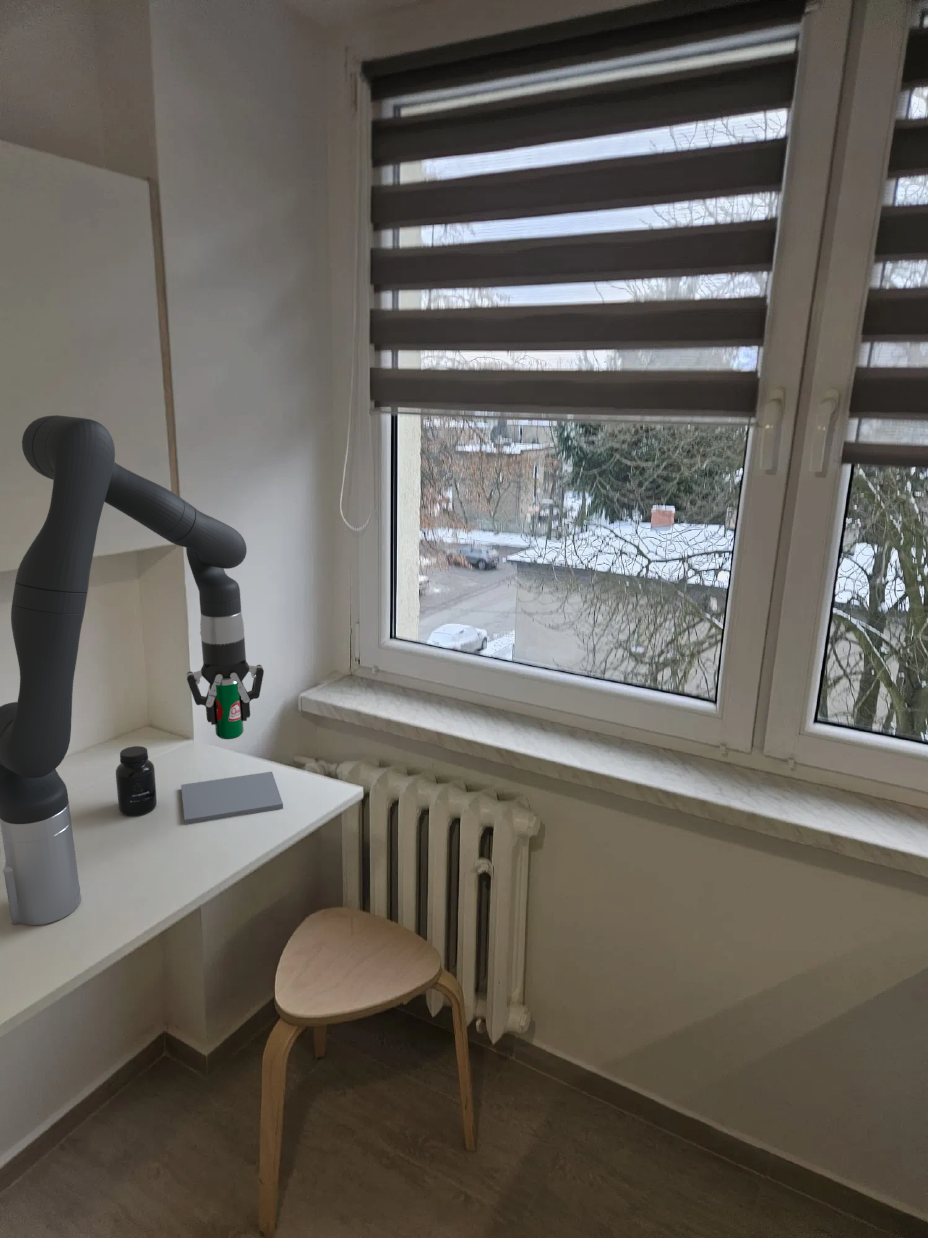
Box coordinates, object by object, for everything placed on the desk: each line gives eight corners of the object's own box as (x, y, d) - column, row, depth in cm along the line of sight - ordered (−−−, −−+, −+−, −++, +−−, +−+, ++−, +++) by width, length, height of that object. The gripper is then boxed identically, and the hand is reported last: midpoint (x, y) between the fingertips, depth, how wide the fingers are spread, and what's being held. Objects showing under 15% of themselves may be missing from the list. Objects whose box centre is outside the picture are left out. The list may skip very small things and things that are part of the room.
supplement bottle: (140, 820, 146) (134, 762, 143) (111, 813, 148) (104, 755, 145) (165, 803, 152) (160, 747, 149) (136, 796, 154) (131, 741, 151)
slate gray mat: (185, 824, 145) (184, 819, 145) (181, 789, 158) (181, 784, 157) (283, 808, 152) (282, 803, 151) (272, 775, 164) (272, 771, 164)
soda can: (235, 742, 145) (231, 681, 141) (210, 738, 146) (205, 679, 142) (248, 730, 150) (244, 672, 146) (224, 727, 151) (220, 669, 147)
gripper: (181, 646, 136) (189, 734, 141) (265, 638, 141) (270, 724, 146) (180, 633, 143) (188, 718, 148) (260, 626, 148) (265, 709, 153)
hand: (229, 720), depth 147 cm, fingers closed on soda can, 5 cm apart
